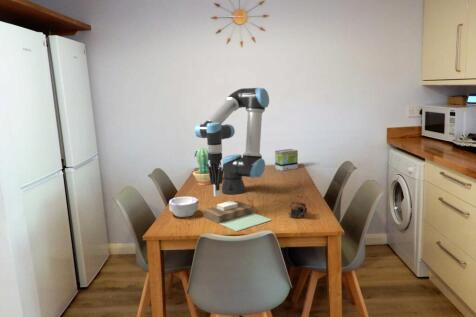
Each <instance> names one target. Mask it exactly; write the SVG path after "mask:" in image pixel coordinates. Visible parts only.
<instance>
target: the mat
mask: <svg viewBox="0 0 476 317" xmlns="http://www.w3.org/2000/svg"><path fill="white" fill-rule="evenodd" d="M272 220H273V219H272V218H268V217H265V216H263V215H260V214H258V213H255V212H254V213H252V214H249V215H245V216H242V217H239V218H235V219H232V220H228V221H225V222H222V223H219V224H218V225H220V226H223V227H225V228H228V229H229V230H232V231H233V232H239V231H242V230H246V229H250V228H253V227H255V226H258V225H262V224H265V223H269V222H271V221H272Z"/></svg>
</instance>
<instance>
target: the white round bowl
mask: <svg viewBox="0 0 476 317" xmlns="http://www.w3.org/2000/svg"><path fill="white" fill-rule="evenodd" d="M168 205H169V206H168V207H169V211H170V212H171V213H173V214H174V215H175V216H176V217H178V218H188V217H190V216H191V217H192V216H193V215H194V214H195V212H197V211H198V210H199V199H198V198H197V197H193V196H178V197H174V198H171V199H169V202H168Z"/></svg>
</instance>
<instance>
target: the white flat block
mask: <svg viewBox="0 0 476 317" xmlns="http://www.w3.org/2000/svg"><path fill="white" fill-rule="evenodd" d="M216 206H217V208H218V209H220V210H223V211H225V210H229V209H232V208H236V207H238V203H235V201H232V200H228V201H225V202H222V203H217V204H216Z"/></svg>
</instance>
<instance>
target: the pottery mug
mask: <svg viewBox="0 0 476 317" xmlns="http://www.w3.org/2000/svg"><path fill="white" fill-rule="evenodd" d="M289 208H290V212H289V213H288V217H289V218H294V219H300V217H301V218H302V217H304V216H305V215H306V214H307V211H308V209H307V204H305V203H303V202H298V201H292V202H291V204H290V206H289Z"/></svg>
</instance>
